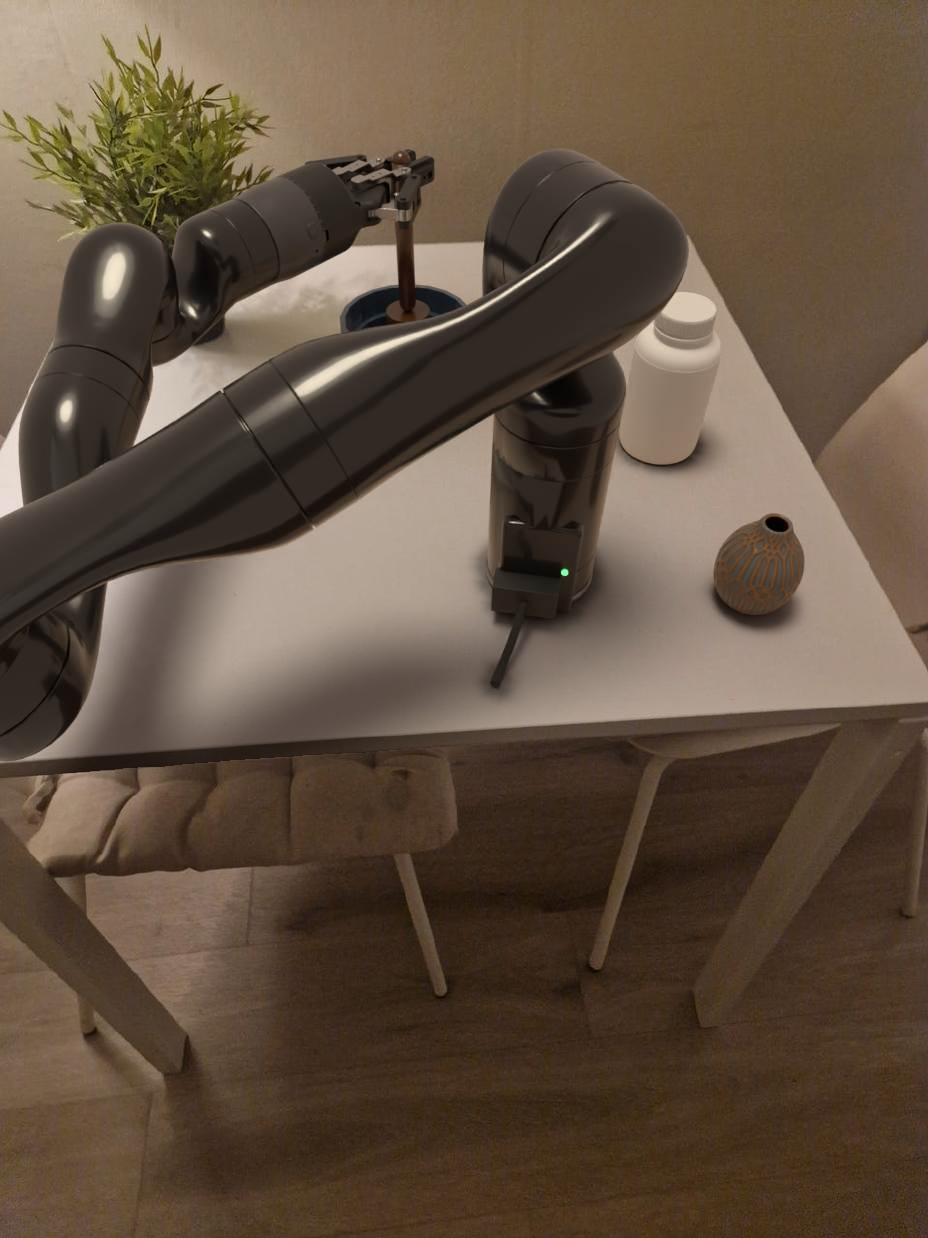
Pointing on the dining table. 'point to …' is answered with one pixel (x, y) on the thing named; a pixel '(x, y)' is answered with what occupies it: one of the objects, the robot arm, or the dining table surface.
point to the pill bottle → (671, 381)
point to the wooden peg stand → (405, 268)
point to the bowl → (374, 303)
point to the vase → (759, 566)
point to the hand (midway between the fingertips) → (422, 164)
